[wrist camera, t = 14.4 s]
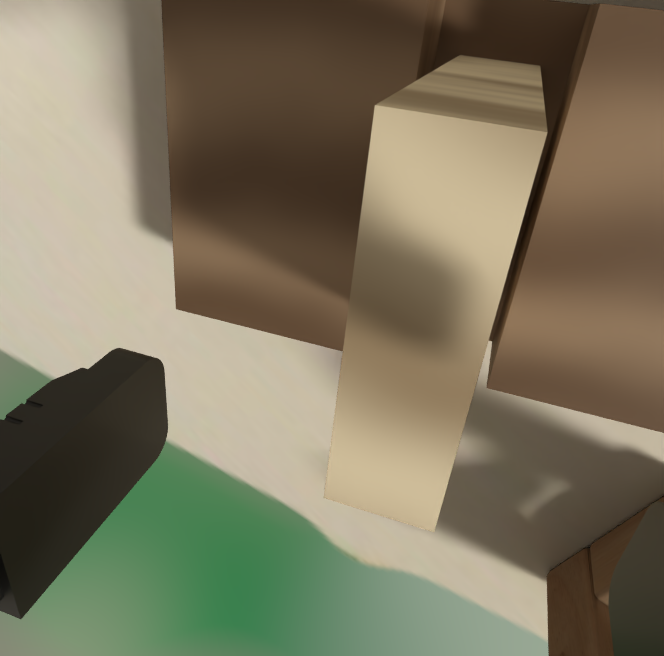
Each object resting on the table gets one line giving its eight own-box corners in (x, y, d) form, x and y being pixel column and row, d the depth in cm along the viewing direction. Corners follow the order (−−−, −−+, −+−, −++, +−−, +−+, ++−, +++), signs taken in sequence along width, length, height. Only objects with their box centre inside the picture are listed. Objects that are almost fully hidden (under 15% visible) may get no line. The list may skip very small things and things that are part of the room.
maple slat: (460, 55, 22) (375, 105, 10) (540, 65, 21) (547, 132, 10) (415, 287, 27) (323, 497, 15) (478, 300, 26) (434, 532, 15)
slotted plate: (224, -36, 24) (159, -46, 20) (887, 38, 19) (987, 46, 15) (224, 268, 31) (176, 309, 27) (703, 380, 26) (736, 451, 22)
